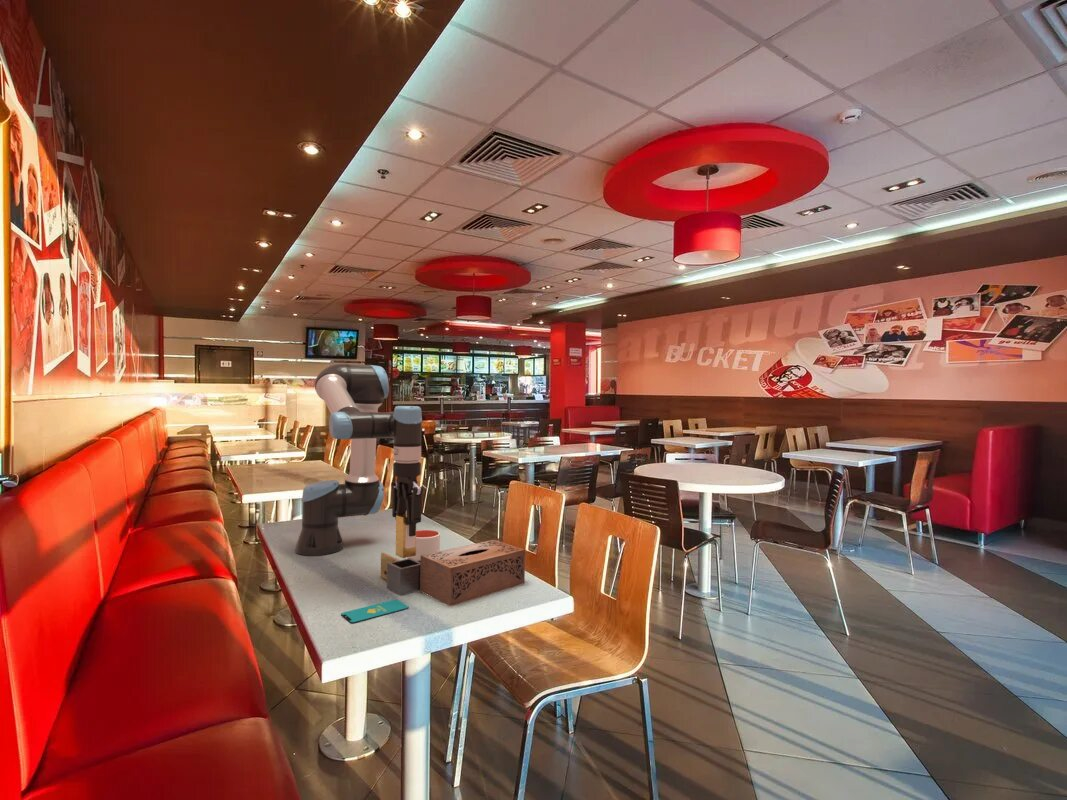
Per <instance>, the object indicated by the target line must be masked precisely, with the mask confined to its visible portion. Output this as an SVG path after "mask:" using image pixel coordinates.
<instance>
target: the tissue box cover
mask: <svg viewBox="0 0 1067 800" xmlns="http://www.w3.org/2000/svg"><path fill="white" fill-rule="evenodd" d="M525 564H526V549H524V548H521V547H518V546H514V545H511V544H508V543H505V542H502V541H500V540H496V539H491V540H485V541H482V542H478V543H472V544H467V545H462V546H459V547H454V548H448V549H445V550H440V551H439V552H434V553H430V554H425V555H421V557H420V590H419V591H420V592H421V593H423V592H424V593H423V594H425V593H426V594H425V595H427V594H428V595H427V596H429V595H430V596H429V597H431V596H432V597H431V598H433V599H434V600H438V601H439V602H441V603H443V604H445V605H447V606H449V607H451V606H452V607H453V606H456V605H459V604H461V603H462V604H463V603H466V602H468V601H471V600H475V599H478V598H482V597H486V596H488V595H491V594H494V593H498V592H501V591H504V590H509V589H510V588H514V587H517V586H522V585H524V584H525V582H526V581H525V577H526V575H525V574H526V573H525V572H526V571H525V570H526V565H525Z"/></svg>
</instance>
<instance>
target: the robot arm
mask: <svg viewBox="0 0 1067 800" xmlns="http://www.w3.org/2000/svg"><path fill="white" fill-rule="evenodd" d="M389 383H390V382H389V378H388V374H387V372H386V370H385V368H384V367H382V366H380V365H374V364H373V365H372V364H353V363H351V364H348V363H336V364H332V365H329V366H327V367H325V368H324V369H322V370H321V371H320V372H319V373H318V374H317V376H316V378H315V381H314V390H315V393H316V394H317V396H318V397H319V398H320V399H321V400H323V401H324V402H325V404H326V407H327V409H328V410H329V411H328V412H329V413H330V416H329V423H328V431H329V434H330V437H331V438H332V439H333V440H334V439H335V440H346V441H347V440H350V458H349V460H350V461H349V474H348V475H347V476H345V478H344V483H340V482H339V481H338V480H337V479H330V480H329V479H327V480H320V481H316V482H312V483H309V484H307V485H306V486H304V488H303V489H302V496H301V497H302V499H301V502H302V504H301V505H302V507H301V511H302V513H301V515H302V516H301V517H302V519H301V531H300V533H299V536H298V538H297V541H296V545H295V552H296V554H299V555H303V556H323V555H329V554H334V553H337V552H340V551H342V550H343V549H344V541H343V538H342V534H341V532H340V527H339V518H349V517H358V516H368V515H375V514H377V513H378V512H379V511H380V510H381V508H382V505H383V502H384V498H385V497H384V495H385V492H384V484H383V483H382V481H380V478H379V476H378V475H377V473H376V454H377V453H376V451H377V439H393V450H392V453H393V461H395V462H393V463H392V475H393V476H394V477H397V478H396V481H393V482H391V483H390V485H391V490H392V491H391V492H392V493H391V495H392V496H391V498H392V499H391V500H392V501H391V502H392V503H391V504H392V505H391V506H392V507H391V508H392V509H391V510H392V511H391V513H392V515H391V516H392V518H395V520H396V515H402V514H407V523H405V525H406V533H405V548H406V549H408V548H413V547H415V540H416V531H417V524H419V523H422V522H421V521H422V506H423V505H422V501H423V500H422V499H423V492H424V487H423V486H419V485H418V476H421V473H422V463H421V462H420V461H421V460H422V429H423V428H422V425H423V424H422V422H423V418H422V416H423V415H422V408H421V406H417V405H416V406H415V405H396V406H395V408H394V411H388V412H385V411H384V412H383V411H382V412H380V411H378V410H379V408H380V407H381V406H382V405H383V400H384V399H387V398H388V397H389V392H390V384H389Z"/></svg>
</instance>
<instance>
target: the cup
mask: <svg viewBox="0 0 1067 800" xmlns="http://www.w3.org/2000/svg"><path fill="white" fill-rule="evenodd" d="M440 547H441V533H440V532H439V531H438V530H432V529H430V530H429V529H423V530H422V529H420V530H416V556H411V557H407V558H406V559H408V558H411V559H414V560H416V561H417V560H420V557H421V555H425V554H430V553H434V552H439V551H441V550H440Z"/></svg>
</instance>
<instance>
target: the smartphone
mask: <svg viewBox="0 0 1067 800" xmlns="http://www.w3.org/2000/svg"><path fill="white" fill-rule="evenodd" d="M409 609H410V608H409V606H408V605H407V604H405V603H404V602H402V601H400V600H399V599H391V600H387V601H385V602H380V603H379V602H378V603H375V604H371V605H367V606H363V607H360V608H355V609H352V610H348V611H343V612H341V613H340V616H341V617H342V618H343V619H344V620H345V621H347V622H348V623H349V624H351V625H352V624H353V625H354V624H359V623H362V622H366V621H369V620H374V619H376V618H380V617H384V616H389V615H390V614H395V613H399V612H402V611H405V610H409Z"/></svg>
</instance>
